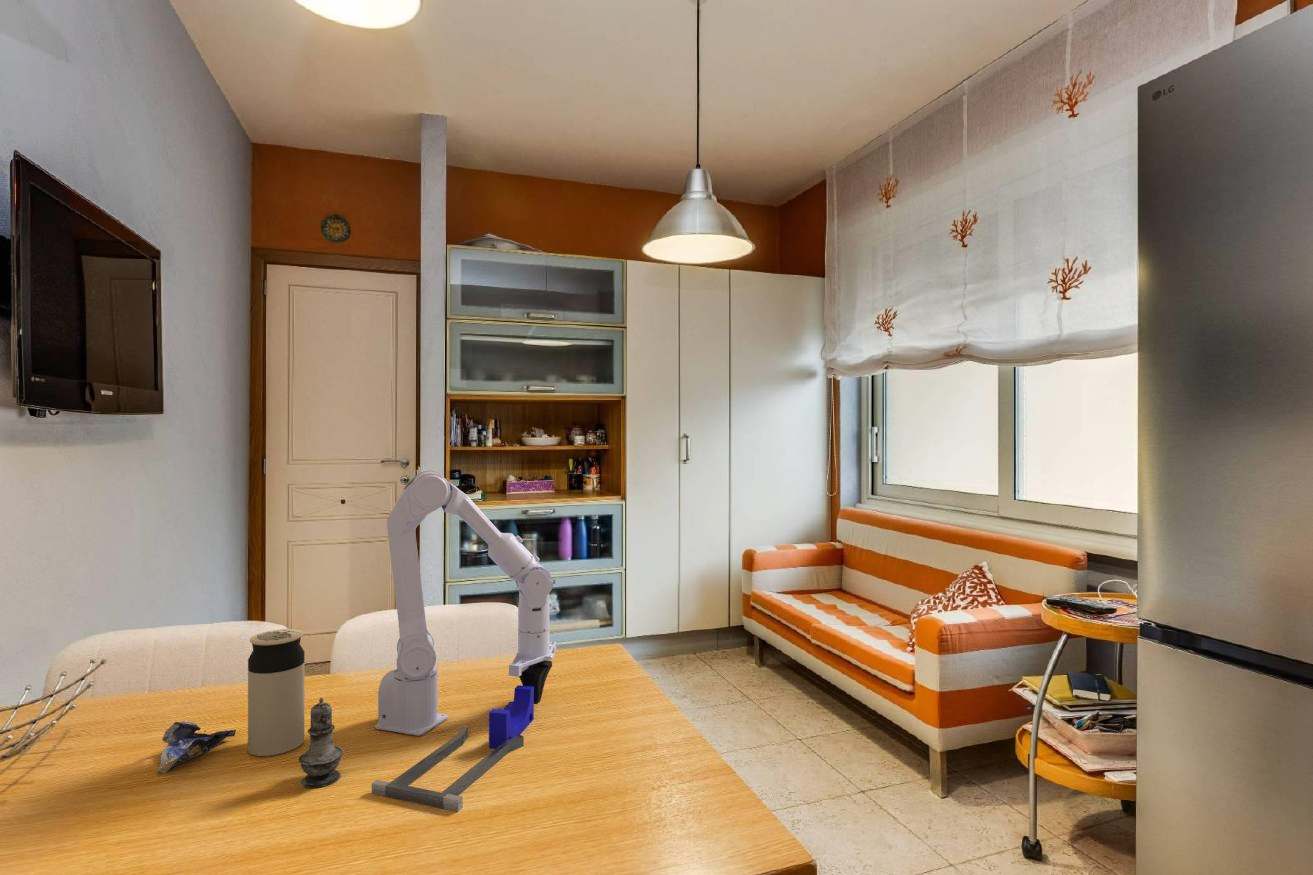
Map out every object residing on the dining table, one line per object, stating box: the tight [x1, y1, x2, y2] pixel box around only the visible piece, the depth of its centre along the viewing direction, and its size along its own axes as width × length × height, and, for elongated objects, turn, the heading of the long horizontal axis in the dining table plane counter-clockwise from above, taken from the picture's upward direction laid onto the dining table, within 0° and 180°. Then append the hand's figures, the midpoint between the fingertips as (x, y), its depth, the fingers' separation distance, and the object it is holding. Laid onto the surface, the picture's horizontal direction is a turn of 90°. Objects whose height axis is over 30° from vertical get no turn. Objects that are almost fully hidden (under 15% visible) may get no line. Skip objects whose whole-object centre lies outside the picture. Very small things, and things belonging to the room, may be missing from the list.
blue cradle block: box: [488, 685, 535, 750], centre depth 114 cm, size 12×4×6 cm, turn 169°
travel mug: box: [247, 628, 305, 757], centre depth 109 cm, size 8×8×18 cm
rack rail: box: [371, 726, 525, 812], centre depth 102 cm, size 14×20×2 cm
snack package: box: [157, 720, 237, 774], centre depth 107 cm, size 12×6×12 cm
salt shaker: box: [298, 697, 344, 790], centre depth 99 cm, size 6×6×12 cm
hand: (533, 702), depth 125 cm, fingers closed
